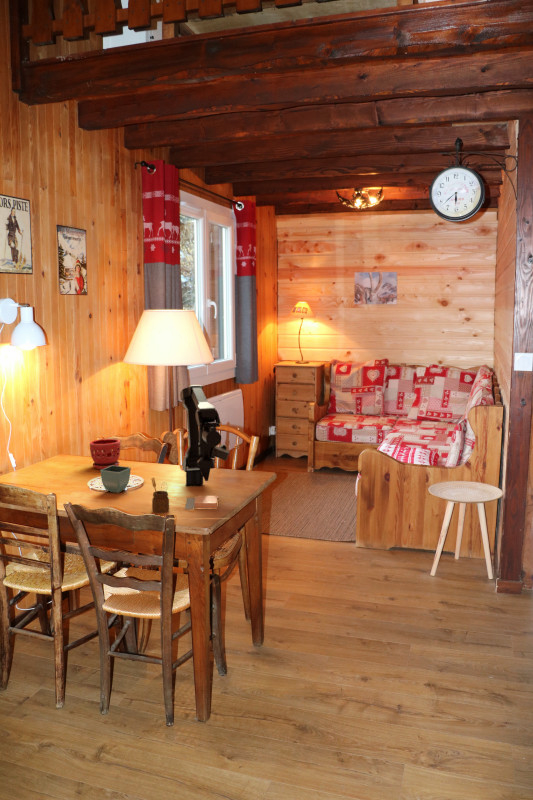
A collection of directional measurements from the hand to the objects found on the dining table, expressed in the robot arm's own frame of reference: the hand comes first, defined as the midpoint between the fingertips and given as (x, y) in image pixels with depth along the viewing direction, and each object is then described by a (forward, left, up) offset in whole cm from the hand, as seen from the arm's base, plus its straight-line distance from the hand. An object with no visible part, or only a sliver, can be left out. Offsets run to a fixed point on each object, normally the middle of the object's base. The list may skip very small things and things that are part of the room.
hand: (206, 480), depth 251 cm
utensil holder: (-16, -14, -7) cm, 23 cm away
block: (0, -4, -6) cm, 7 cm away
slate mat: (-1, -6, -7) cm, 10 cm away
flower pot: (-36, +12, -7) cm, 38 cm away
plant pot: (-47, +49, -7) cm, 68 cm away
